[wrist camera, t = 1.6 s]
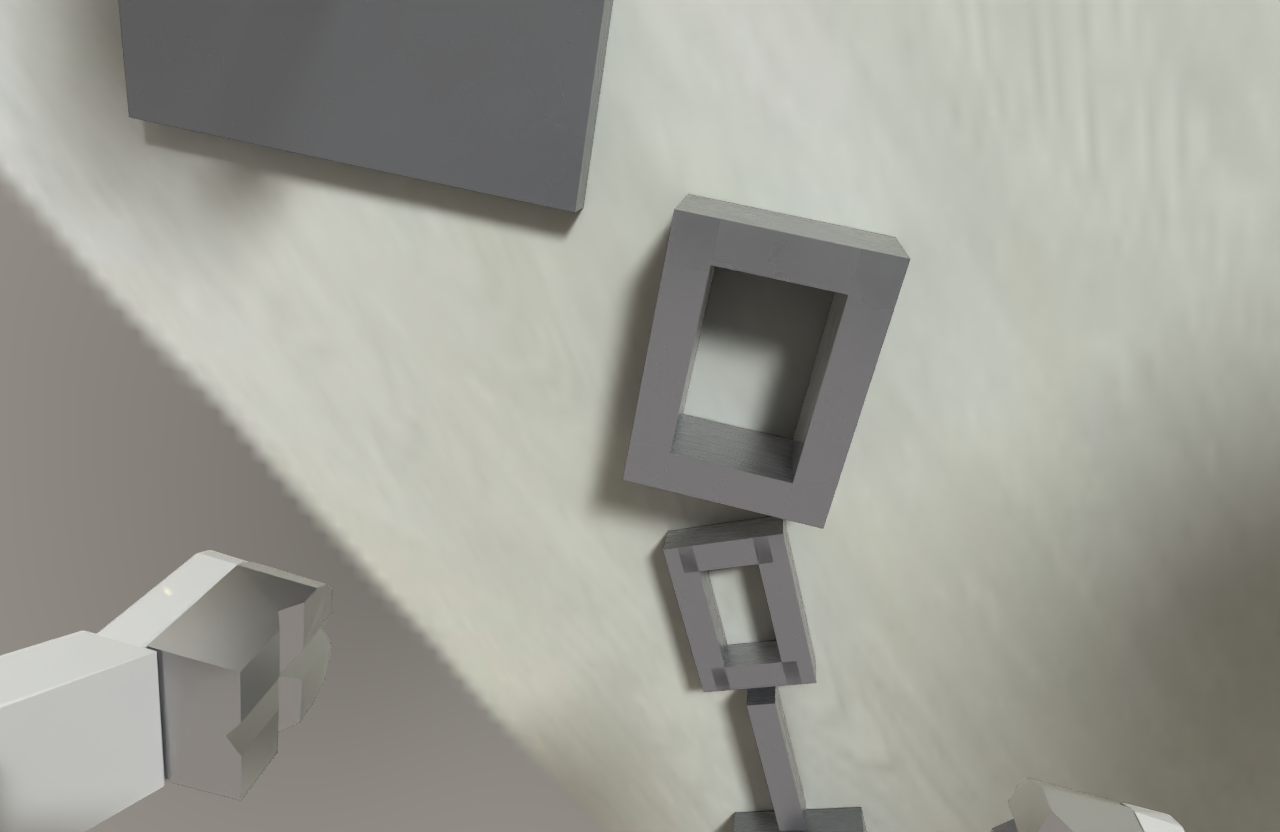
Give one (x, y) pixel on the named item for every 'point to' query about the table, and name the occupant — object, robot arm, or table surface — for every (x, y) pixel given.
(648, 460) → the end link
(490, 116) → the plate
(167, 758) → the robot arm
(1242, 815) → the table surface
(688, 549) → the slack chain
